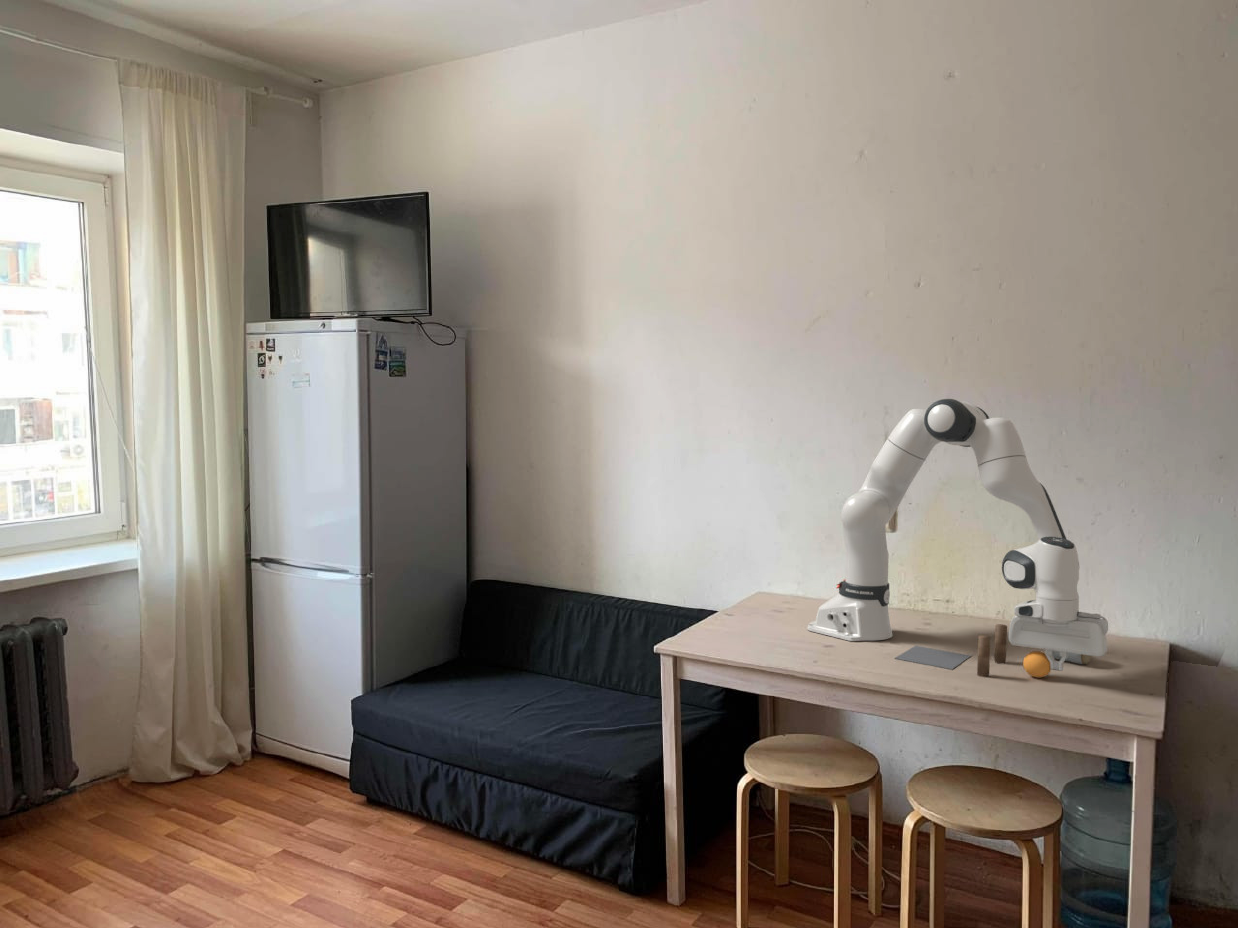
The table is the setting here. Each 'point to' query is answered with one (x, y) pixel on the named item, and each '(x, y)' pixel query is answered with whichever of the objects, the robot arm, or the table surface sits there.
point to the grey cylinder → (1074, 657)
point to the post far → (1000, 643)
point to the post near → (983, 656)
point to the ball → (1036, 664)
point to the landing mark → (933, 657)
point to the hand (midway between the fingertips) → (1056, 669)
